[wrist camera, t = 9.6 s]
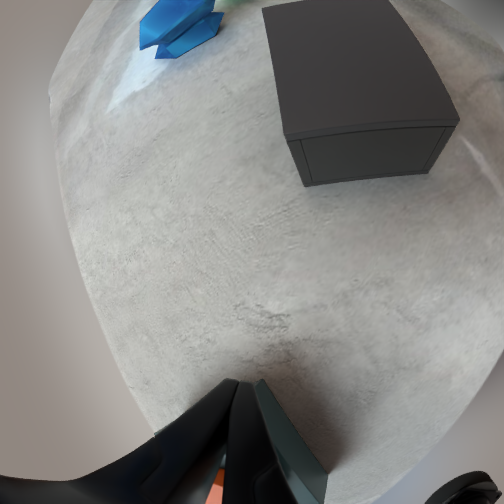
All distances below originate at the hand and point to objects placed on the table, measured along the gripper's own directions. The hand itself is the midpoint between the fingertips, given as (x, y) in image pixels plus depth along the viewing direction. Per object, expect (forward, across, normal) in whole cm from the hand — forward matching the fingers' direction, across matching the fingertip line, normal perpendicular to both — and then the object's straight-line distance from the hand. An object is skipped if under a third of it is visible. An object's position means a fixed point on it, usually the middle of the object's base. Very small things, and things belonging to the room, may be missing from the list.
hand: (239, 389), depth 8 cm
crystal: (+24, +11, -22) cm, 34 cm away
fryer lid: (+10, -4, -15) cm, 18 cm away
